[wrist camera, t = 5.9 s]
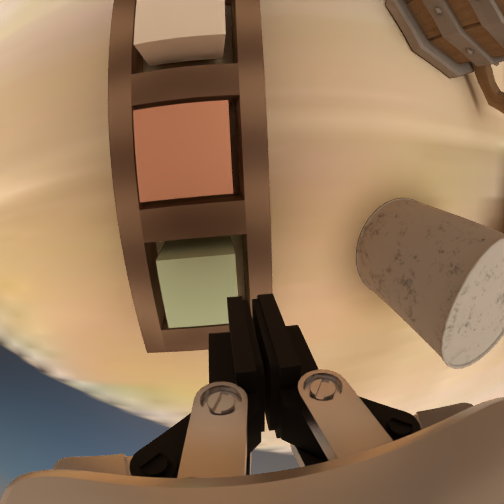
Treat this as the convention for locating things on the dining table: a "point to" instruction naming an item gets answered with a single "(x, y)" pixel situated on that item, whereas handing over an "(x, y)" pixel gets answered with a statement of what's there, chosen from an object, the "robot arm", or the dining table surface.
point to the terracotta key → (183, 150)
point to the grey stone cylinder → (437, 276)
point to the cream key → (179, 30)
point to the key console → (192, 208)
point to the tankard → (456, 37)
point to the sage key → (197, 280)
